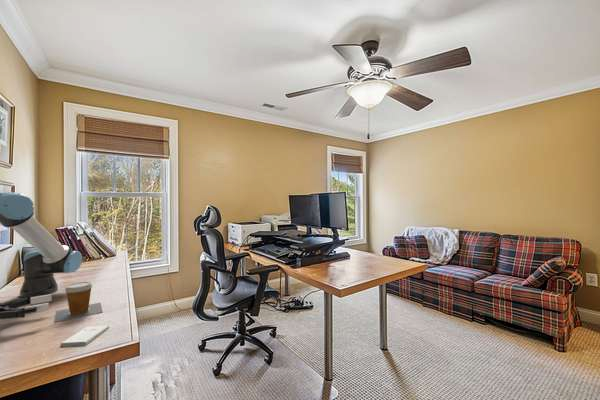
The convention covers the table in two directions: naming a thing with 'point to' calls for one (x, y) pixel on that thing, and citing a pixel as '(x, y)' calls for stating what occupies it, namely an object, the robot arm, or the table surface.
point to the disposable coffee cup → (78, 297)
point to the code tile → (66, 315)
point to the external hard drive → (84, 336)
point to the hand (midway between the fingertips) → (50, 301)
